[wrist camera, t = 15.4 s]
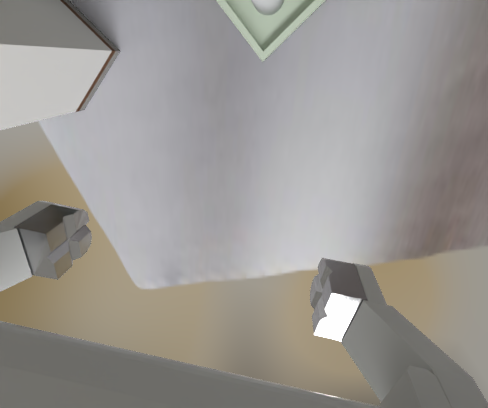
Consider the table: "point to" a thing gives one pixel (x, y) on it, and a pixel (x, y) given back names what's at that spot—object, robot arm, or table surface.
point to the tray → (268, 22)
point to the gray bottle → (267, 6)
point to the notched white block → (48, 60)
